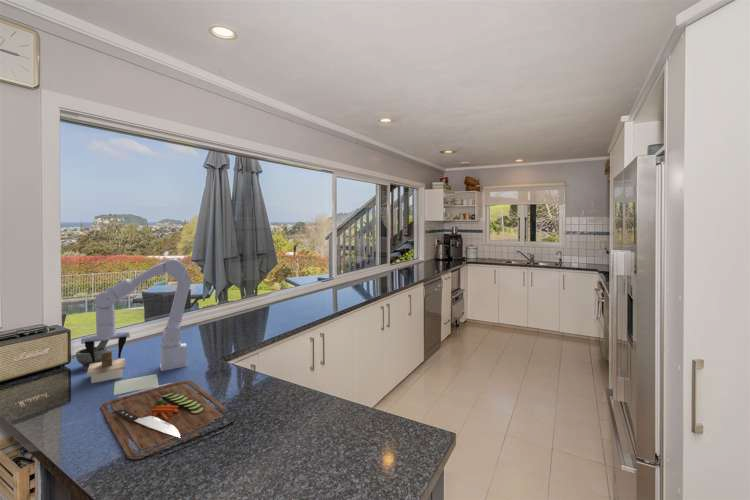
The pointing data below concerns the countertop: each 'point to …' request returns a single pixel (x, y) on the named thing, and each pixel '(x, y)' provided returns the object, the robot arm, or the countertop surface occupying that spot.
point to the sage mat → (135, 384)
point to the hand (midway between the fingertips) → (106, 359)
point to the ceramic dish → (106, 376)
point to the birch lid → (106, 364)
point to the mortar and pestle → (85, 357)
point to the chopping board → (159, 415)
